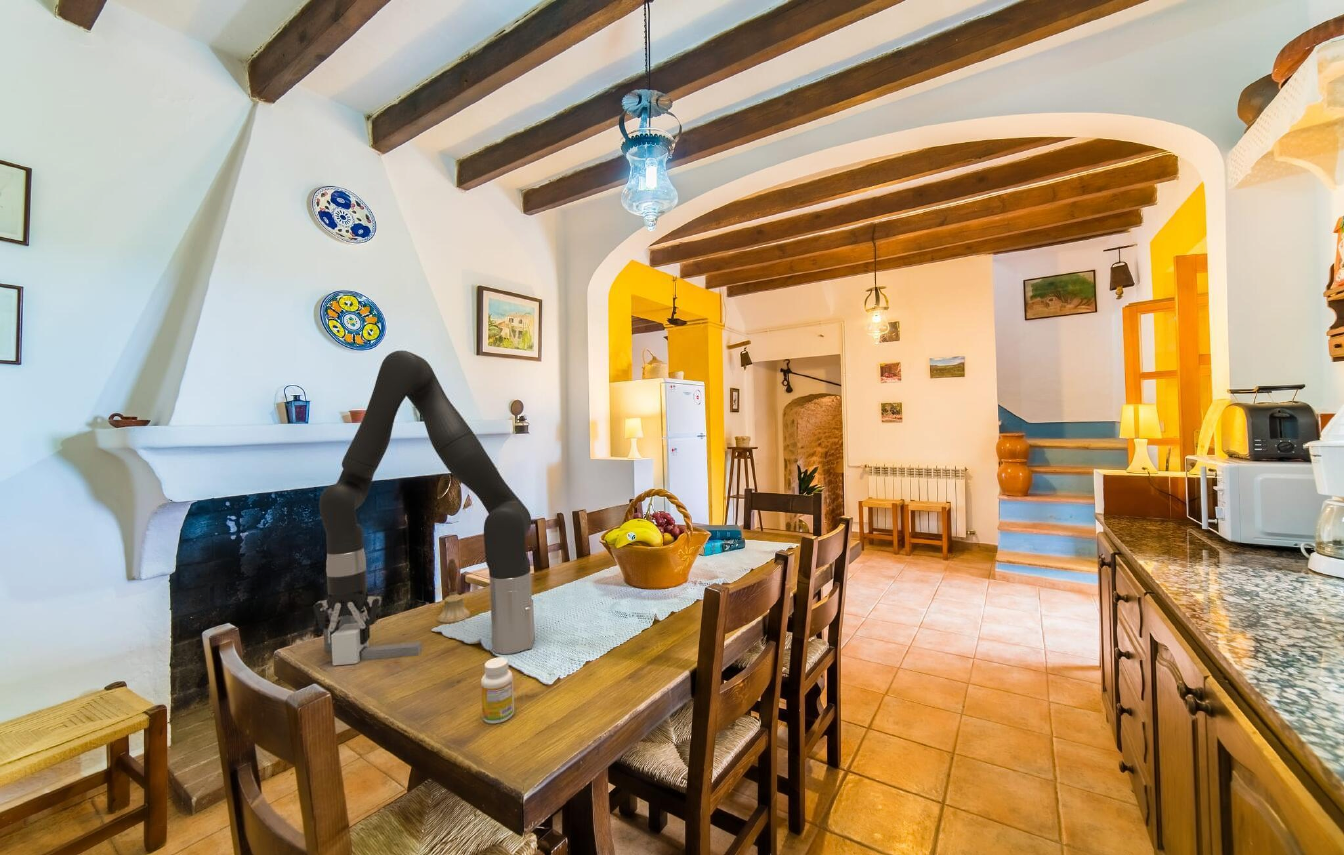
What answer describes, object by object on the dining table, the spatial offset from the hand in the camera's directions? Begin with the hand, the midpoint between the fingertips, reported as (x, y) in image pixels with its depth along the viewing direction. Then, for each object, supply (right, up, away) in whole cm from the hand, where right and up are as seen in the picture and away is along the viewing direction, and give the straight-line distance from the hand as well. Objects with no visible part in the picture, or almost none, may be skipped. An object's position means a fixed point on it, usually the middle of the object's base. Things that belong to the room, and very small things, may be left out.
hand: (350, 644), depth 117 cm
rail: (+6, -3, +1) cm, 7 cm away
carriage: (0, -3, 0) cm, 3 cm away
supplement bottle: (+42, -3, -24) cm, 48 cm away
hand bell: (+14, -3, +23) cm, 27 cm away
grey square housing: (-6, -3, +8) cm, 11 cm away
